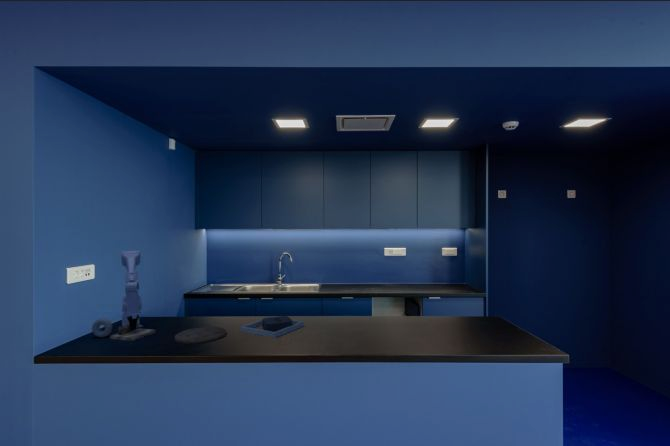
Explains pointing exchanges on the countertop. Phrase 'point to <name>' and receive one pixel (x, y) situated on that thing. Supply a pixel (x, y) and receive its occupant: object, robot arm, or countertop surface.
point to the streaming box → (276, 323)
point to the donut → (97, 330)
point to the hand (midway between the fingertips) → (133, 329)
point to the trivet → (200, 335)
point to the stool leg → (126, 329)
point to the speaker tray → (250, 329)
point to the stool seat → (133, 334)
